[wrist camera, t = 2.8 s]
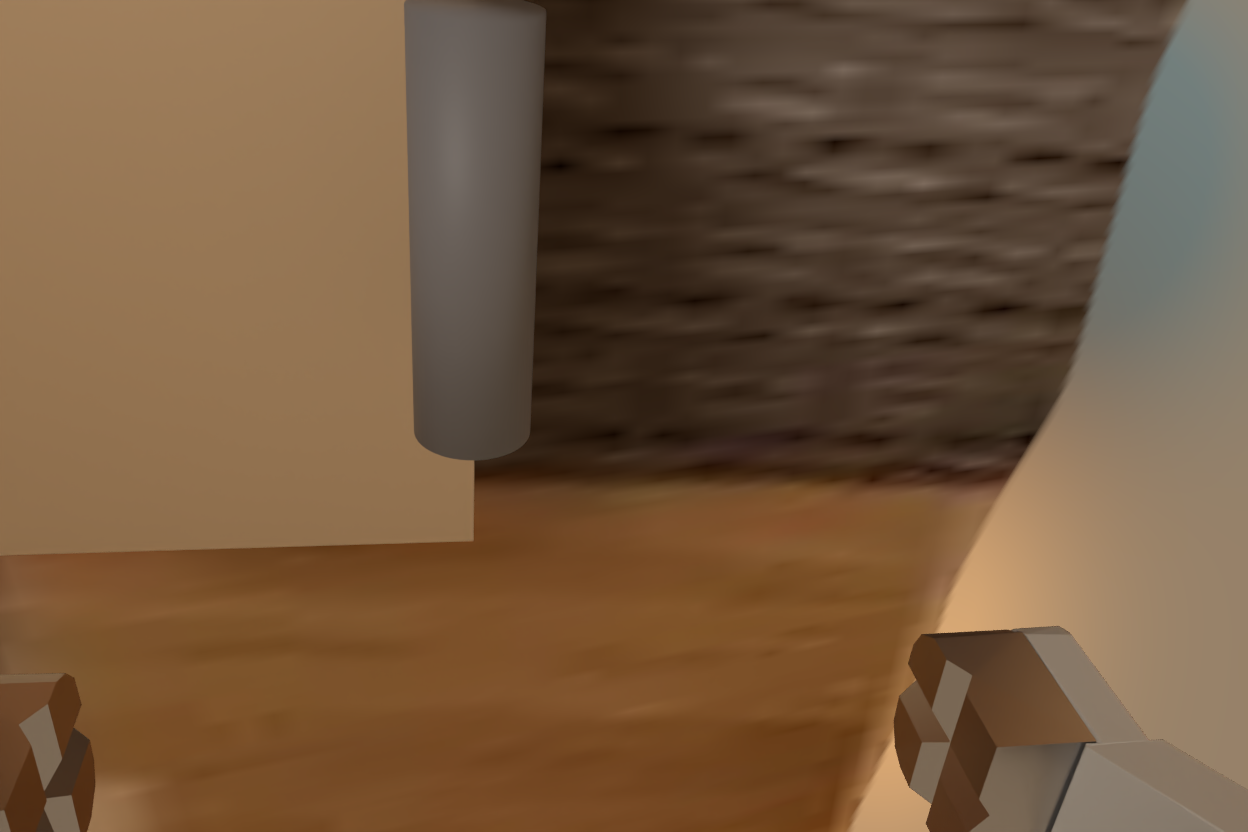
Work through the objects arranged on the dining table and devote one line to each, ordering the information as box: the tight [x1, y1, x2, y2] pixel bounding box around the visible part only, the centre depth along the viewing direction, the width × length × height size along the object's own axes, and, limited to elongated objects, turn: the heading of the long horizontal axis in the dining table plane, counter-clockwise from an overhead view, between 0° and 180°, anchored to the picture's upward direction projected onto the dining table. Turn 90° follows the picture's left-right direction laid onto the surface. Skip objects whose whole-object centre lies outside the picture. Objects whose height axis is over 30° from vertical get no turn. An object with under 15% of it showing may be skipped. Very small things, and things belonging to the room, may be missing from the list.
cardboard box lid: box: [0, 0, 546, 556], centre depth 21 cm, size 20×16×6 cm
